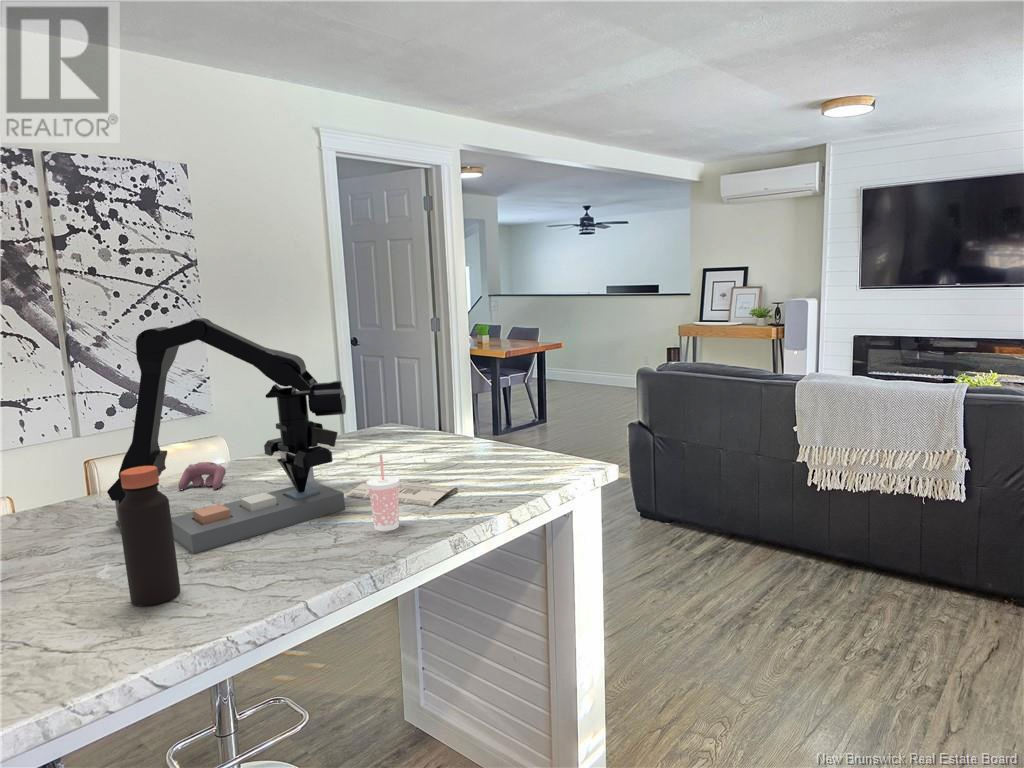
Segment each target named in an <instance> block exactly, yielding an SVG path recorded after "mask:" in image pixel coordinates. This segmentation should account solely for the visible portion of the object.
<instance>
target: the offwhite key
mask: <svg viewBox="0 0 1024 768" xmlns="http://www.w3.org/2000/svg"><path fill="white" fill-rule="evenodd" d="M268 493H269V492H266V491H264V492H261V493H257V494H253V495H248V496H246V497H242V498H240V500H241V507H242V508H243V509H245V510H247V511H249V512H253V511H257V510H261V509H264V508H268V507H272V506H276V505H277V503H276V497H274V496H272V495H270V494H268Z"/></svg>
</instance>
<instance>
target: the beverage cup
mask: <svg viewBox="0 0 1024 768" xmlns="http://www.w3.org/2000/svg"><path fill="white" fill-rule="evenodd" d="M379 462H380V463H379V465H380V474H381V476H378V477H372V478H370V479H368V480H366V481H367V488H369V495H370V500H369V501H370V507H371V514H372V521H373V527H374V530H375V531H379V532H389V531H392V530H396V529H397V528H399V526H400V521H399V519H400V518H399V517H400V512H399V504H400V503H399V502H398V485H399V482H400V478H399V477H398V476H392V475H385V473H384V460H383V454H379Z"/></svg>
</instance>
